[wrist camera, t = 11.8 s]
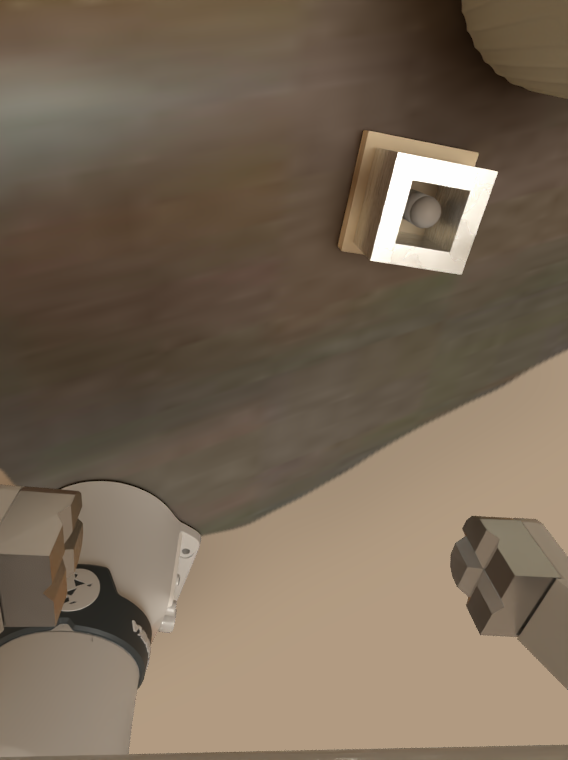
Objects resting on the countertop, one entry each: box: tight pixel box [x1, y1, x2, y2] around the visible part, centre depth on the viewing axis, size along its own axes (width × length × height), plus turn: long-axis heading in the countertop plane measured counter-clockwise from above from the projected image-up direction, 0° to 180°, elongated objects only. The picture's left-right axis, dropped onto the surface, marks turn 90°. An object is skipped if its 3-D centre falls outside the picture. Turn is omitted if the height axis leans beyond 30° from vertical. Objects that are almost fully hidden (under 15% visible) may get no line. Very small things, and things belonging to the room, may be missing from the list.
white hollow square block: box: [353, 147, 498, 275], centre depth 32 cm, size 6×6×5 cm
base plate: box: [338, 130, 479, 254], centre depth 33 cm, size 8×8×6 cm
